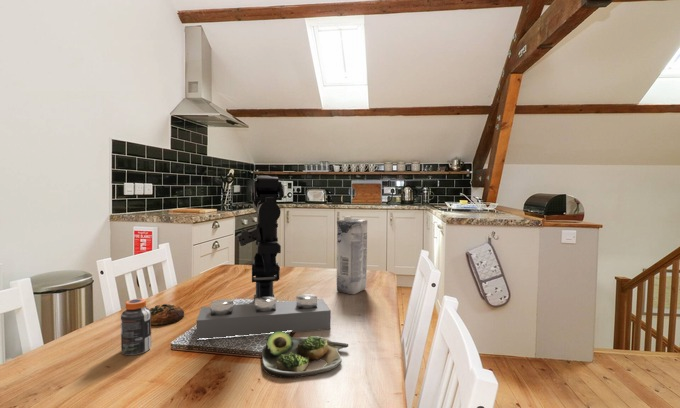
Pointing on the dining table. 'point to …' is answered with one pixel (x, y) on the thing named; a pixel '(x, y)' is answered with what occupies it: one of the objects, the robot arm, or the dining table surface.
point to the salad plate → (298, 354)
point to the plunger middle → (265, 304)
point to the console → (263, 320)
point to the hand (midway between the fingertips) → (267, 272)
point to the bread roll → (165, 314)
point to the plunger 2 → (306, 301)
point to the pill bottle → (135, 328)
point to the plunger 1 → (221, 307)
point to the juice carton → (351, 255)
